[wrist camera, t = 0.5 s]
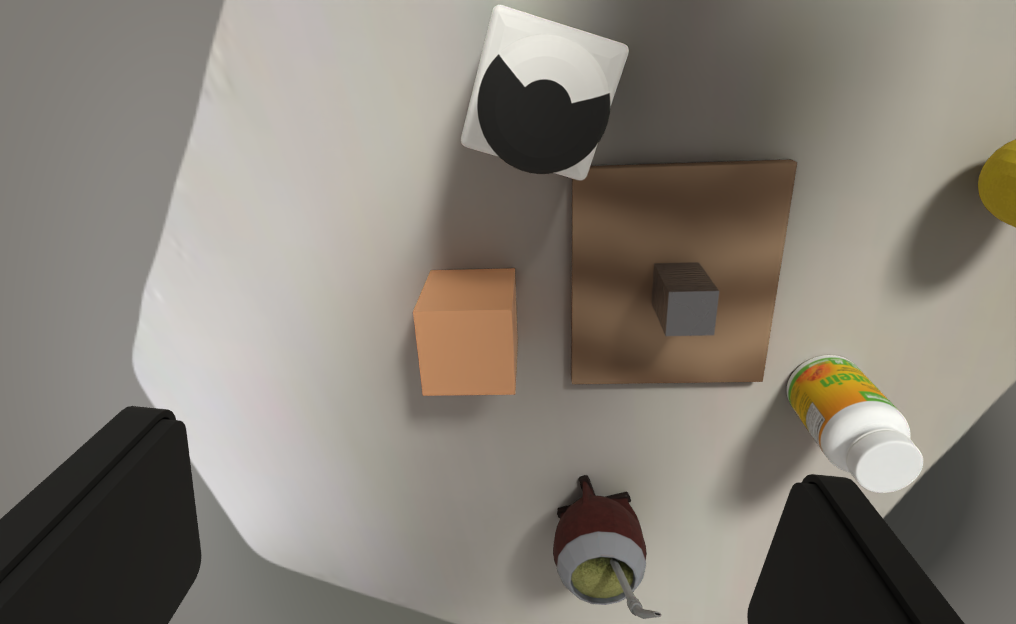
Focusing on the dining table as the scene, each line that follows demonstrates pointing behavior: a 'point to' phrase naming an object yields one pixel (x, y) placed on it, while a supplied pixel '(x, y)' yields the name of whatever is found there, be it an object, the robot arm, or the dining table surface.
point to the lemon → (1000, 183)
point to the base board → (676, 239)
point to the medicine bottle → (542, 93)
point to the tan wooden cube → (467, 332)
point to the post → (684, 299)
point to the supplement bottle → (854, 423)
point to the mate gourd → (601, 549)
